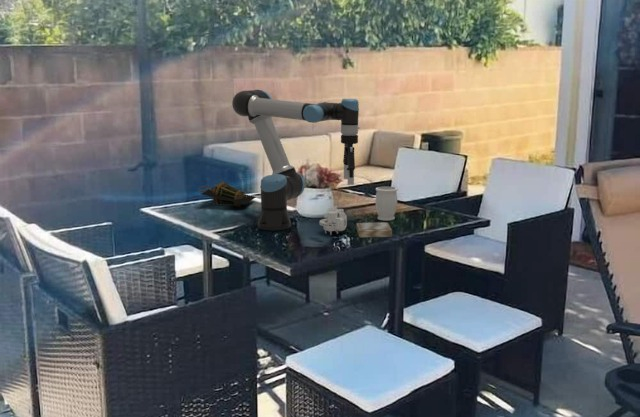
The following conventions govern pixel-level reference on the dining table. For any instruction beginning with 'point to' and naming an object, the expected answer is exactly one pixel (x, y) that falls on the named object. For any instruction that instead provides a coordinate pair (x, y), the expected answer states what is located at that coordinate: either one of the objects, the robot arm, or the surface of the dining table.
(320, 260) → the dining table surface
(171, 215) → the dining table surface
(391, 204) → the jar
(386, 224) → the stand
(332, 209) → the mechanical part
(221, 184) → the lantern
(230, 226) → the dining table surface
